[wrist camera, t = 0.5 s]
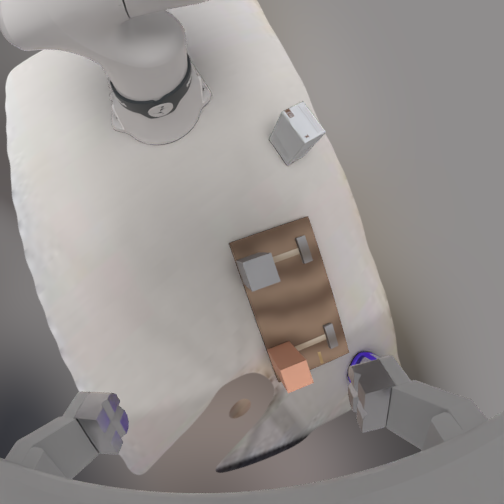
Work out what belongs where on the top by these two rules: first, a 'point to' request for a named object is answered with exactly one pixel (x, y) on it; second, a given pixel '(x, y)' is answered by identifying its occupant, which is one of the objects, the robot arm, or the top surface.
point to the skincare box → (296, 132)
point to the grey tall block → (258, 270)
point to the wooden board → (295, 294)
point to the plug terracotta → (290, 366)
